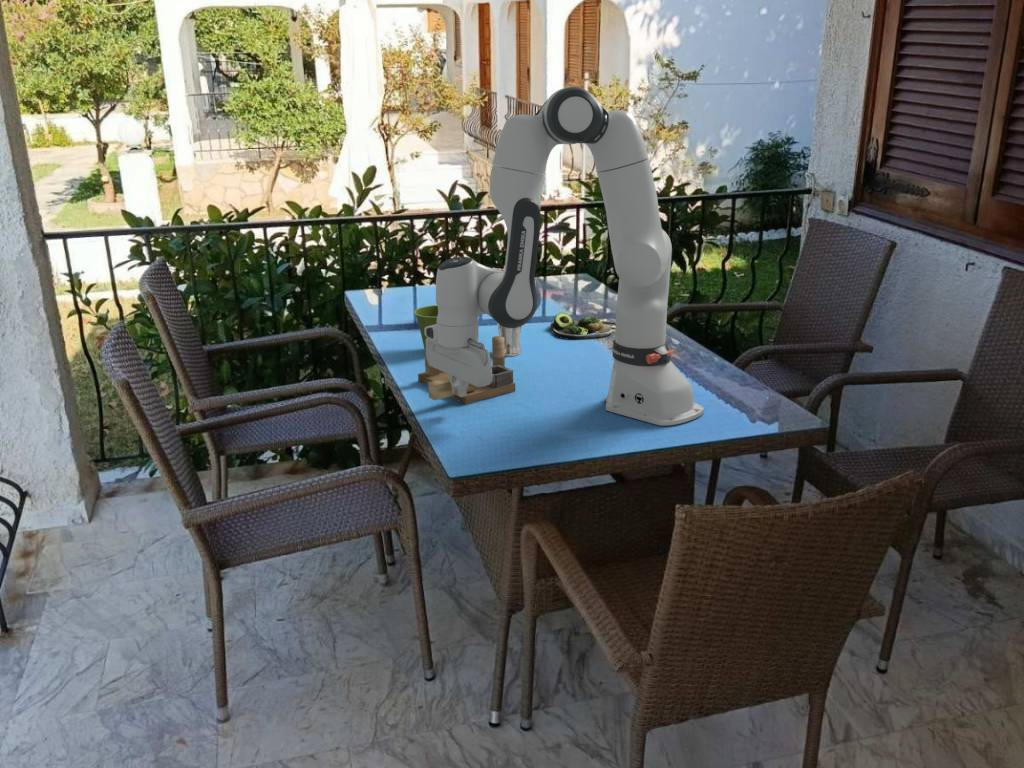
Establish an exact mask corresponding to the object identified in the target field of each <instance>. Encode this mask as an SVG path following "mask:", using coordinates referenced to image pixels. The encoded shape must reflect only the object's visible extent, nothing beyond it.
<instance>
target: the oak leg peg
mask: <svg viewBox="0 0 1024 768" xmlns="http://www.w3.org/2000/svg"><path fill="white" fill-rule="evenodd" d="M491 345H492V346H491V348H492V349H491V351H492V353H491V354H492V357H491V359H492V360H491V361H492V366H494V365H496V366H497V365H501V366H504V367H506V364H505V363H506V359H505V358H506V356H505V343H504V337H502V336H499V335H497V336H493V337H492V338H491Z"/></svg>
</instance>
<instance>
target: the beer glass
mask: <svg viewBox="0 0 1024 768" xmlns="http://www.w3.org/2000/svg"><path fill="white" fill-rule="evenodd" d="M496 326H497V331H498V336H502V337H504V343H505V357H517V356H520V355H521V354H522V348H521V332H522V326H523V325H522V326H520V327H517V328H506V327H503V326H501V325H500V324H498V323H497V322H496Z"/></svg>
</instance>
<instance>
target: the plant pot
mask: <svg viewBox="0 0 1024 768" xmlns="http://www.w3.org/2000/svg"><path fill="white" fill-rule="evenodd" d="M413 314H414V315H415V317H416V321H417V323H418V327H419V330H420V335H421V339H422V340H421V342H422V344H423V348H424V349H423V350H424V353H426V338H427V337H426V336H425V333H424V328H425V327H427V326H431V325H435V324H437V316H438V307H437V304H434V305H427V306H423V307H419V308H416V309H414V311H413Z"/></svg>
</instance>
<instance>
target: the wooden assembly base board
mask: <svg viewBox="0 0 1024 768" xmlns="http://www.w3.org/2000/svg"><path fill="white" fill-rule="evenodd" d="M491 367H492V382H491V384H490V385H487V386H483V387H476V386H475V390H474V391H470V392H467V394H466V396H464V397H459V396H457V395H454V396H450V397H449V398H451V397H452V398H451V399H453V398H454V400H455V401H458V400H459V401H458V402H460V401H461V402H460V403H462V402H463V404H464V403H465V404H464V405H466V404H467V405H470V404H469V403H471V404H474V403H478V402H481V400H482V401H485V400H489V399H492V398H496V397H499V396H498V395H500V396H503V395H507V394H510V392H511V393H514V392H516V382H514V370H513V369H511V368H508V367H506V366H505V367H504V366H501V365H497V366H496V365H494V366H493V365H491ZM424 369H425V370H424V372H420V373H418V374H417V379H418V380H417V382H418V383H421V384H423V385H424V386H427V387H428V383H429V382H433V381H437V380H441V379H445V378H449V377H448V374H447V373H445V372H443V371H441V370H438V369H436V368H434V367H432V366H430V365H429V364H428V361H427V358H426V353H424ZM513 391H514V392H513ZM502 394H503V395H502ZM495 396H496V397H495ZM488 398H489V399H488ZM477 401H478V402H477ZM473 402H474V403H473Z"/></svg>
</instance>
